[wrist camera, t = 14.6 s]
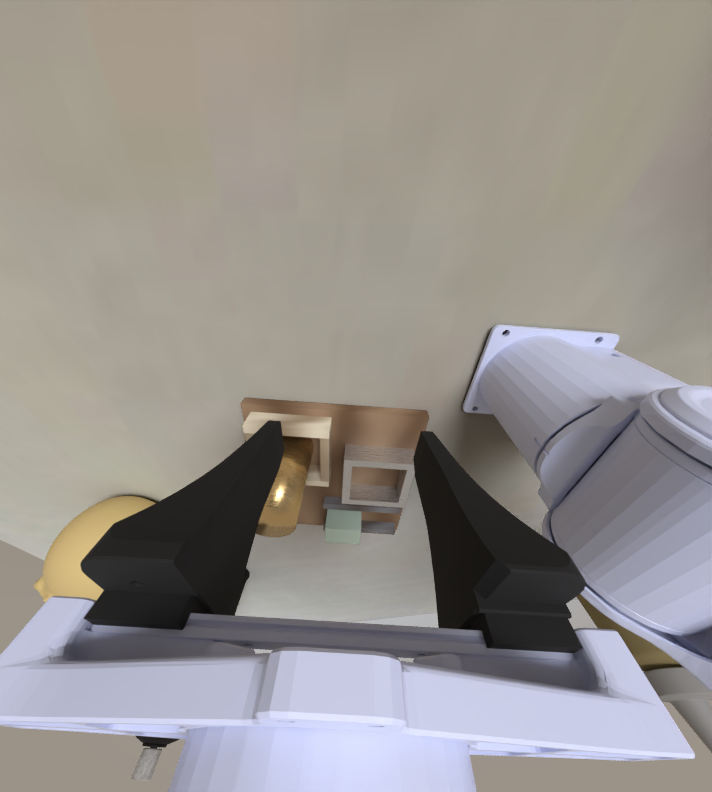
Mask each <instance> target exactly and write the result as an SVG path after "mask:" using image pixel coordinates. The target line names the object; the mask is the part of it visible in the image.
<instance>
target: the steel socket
mask: <svg viewBox="0 0 712 792" xmlns="http://www.w3.org/2000/svg"><path fill="white" fill-rule="evenodd" d="M414 454H415V453H414V449H403V448H389V447H375V446H360V445H345V456H344V471H343V488H342V504H355V505H370V506H385V507H400V508H405V505H406V501H407V498H408V494H409V491H410V488H411V484H412V481H413V478H414V474H415V471H414V461H413V458H414ZM352 466H354V467H369V468H384V469H398V470H400V474H399V478H398V482H397V486H396V487H392V486H378V485H363V484H351V475H352Z"/></svg>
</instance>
